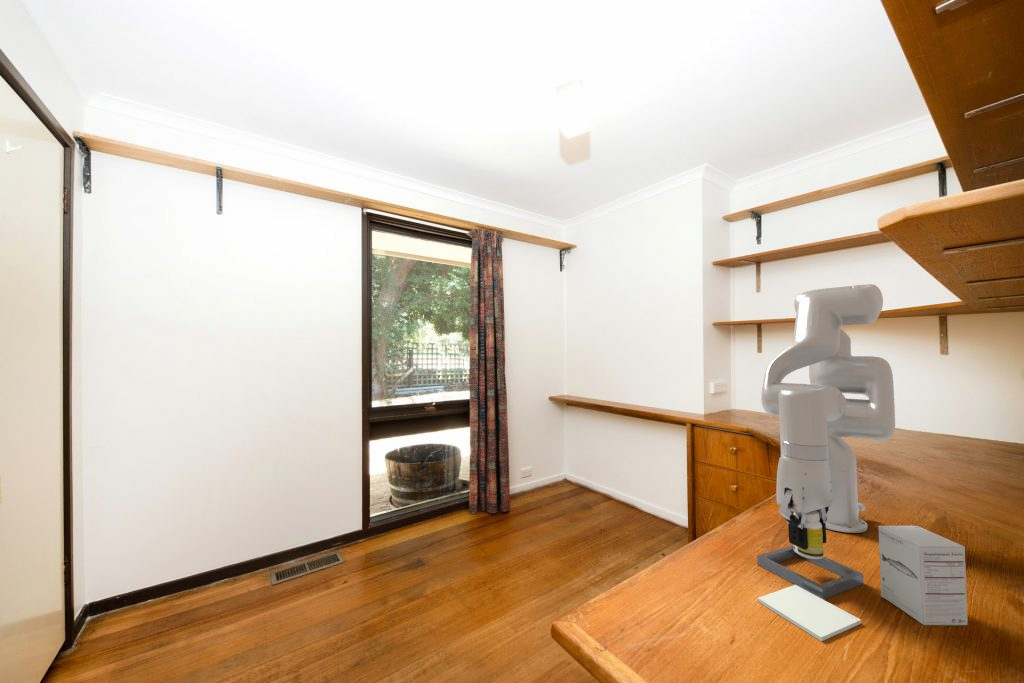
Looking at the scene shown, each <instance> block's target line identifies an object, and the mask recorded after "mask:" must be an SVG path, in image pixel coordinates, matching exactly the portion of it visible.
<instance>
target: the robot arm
mask: <svg viewBox="0 0 1024 683" xmlns="http://www.w3.org/2000/svg"><path fill="white" fill-rule="evenodd" d="M793 306H794V310H795V313H796V314H795V321H794V328H793V329H794V330H793V336H792V338H793V339H792V344H791V345H789V346H788V347H786V348H785V349H783V350H782V351H781V352H779V353H778V354H777V355H776V356H775V357H774V358H773V359H772V361H770V363H769V364H768V366H767V367H766V369H765V373H764V376H763V382H762V389H761V405H762V408H763V409H764V411H765V412H766V413H767V414H768V415H770V416H774V417H778V418H779V419H778V420H779V435H780V437H779V438H780V441H779V442H780V457H779V459H778V464H777V472H776V488H775V489H776V503H777V505H778V506H779V508H778V510H777V511H778V514H780V515H781V516H782V517H783V518H784V519H785V521H786V522H785V523H786V524H788V525H787V526H788V527H787V528H788V542H789V543H790V544H792V545H796V546H798V547H800V548H802V549H805V550H806V549H808V535H807V529H806V528H804V527H805V520H806V513H808V512H811V511H815V510H816V511H818V512H819V518H820V519H819V522H820V523H821V524H822V532H823V544H826V543H827V530H831V531H834V532H835V531H836V532H839V533H840V532H842V533H849V534H850V533H851V534H860V533H861V534H862V533H865V532H867V530H868V523H867V522H866V520H864V519H862V518H860V517H859V515H860V514H859V513H860V512H862V511H863V512H864V511H865V510H866V506H865V505H864V503H862V502H859V498H858V496H859V495H858V476H857V475H858V474H857V469H858V468H857V458H856V453H855V450H853V449H852V447H851V446H850V444H848V443H847V442H846V441H845V440H844V439H843V438H853V439H854V438H856V439H864V440H871V441H887V440H890V439H892V438H893V437H894V435H895V431H896V412H895V411H896V410H895V389H894V388H895V386H894V375H893V371H892V367H891V365H890V363H889V362H888V361H887V360H886V359H884V358H882V357H880V356H879V357H878V356H874V355H873V356H872V355H871V356H870V355H869V356H867V355H866V356H865V355H864V356H862V355H861V356H860V355H859V356H857V355H856V356H855V355H854V356H853V355H852V351H851V350H852V349H851V348H852V345H851V344H852V340H851V337H850V336H849V335H848V334H847V332H845V330H844V329H842V328H841V327H842V326H854V325H855V326H859V325H862V326H863V325H871V324H873V323H876V321H877V320H878V318H879V316H880V314H881V312H882V310H883V306H884V297H883V293H882V290H881V289H880V288H879V287H878V286H877V285H876V284H872V283H867V284H858V285H857V284H856V285H847V286H846V285H845V286H840V287H836V286H835V287H827V288H826V287H825V288H819V289H818V288H817V289H813V290H806V291H805V292H801V293H800V294H798V295H797V296H795V298H794V305H793ZM806 367H808V375H809V384H807V383H793V382H792V383H788V382H783V380H784V379H785V377H787V376H788V375H789V374H791V373H793V372H795V371H797V370H800V369H802V368H806ZM844 394H852V395H863V396H866V397H867V398H868V399H863V398H862V399H859V398H846V397H845V395H844ZM795 507H797V509H795ZM794 512H795V513H798V514H799V519H798V518H797V517H796V516H795V515H794Z"/></svg>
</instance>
